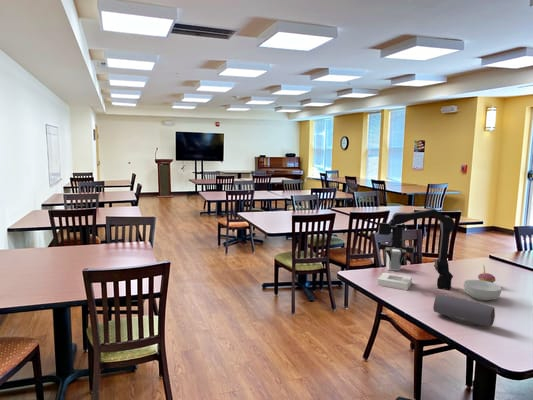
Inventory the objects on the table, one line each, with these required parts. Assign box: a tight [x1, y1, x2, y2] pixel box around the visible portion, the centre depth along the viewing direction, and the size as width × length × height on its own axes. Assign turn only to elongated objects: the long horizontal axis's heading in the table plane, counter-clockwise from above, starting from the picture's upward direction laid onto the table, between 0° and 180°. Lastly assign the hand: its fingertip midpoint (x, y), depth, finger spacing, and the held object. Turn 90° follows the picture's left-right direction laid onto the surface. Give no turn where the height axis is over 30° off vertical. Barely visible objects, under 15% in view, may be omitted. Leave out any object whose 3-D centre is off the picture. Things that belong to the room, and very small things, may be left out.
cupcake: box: [477, 264, 496, 283], centre depth 217 cm, size 9×8×12 cm
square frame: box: [377, 272, 413, 291], centre depth 219 cm, size 16×14×4 cm
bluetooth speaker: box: [432, 293, 496, 328], centre depth 169 cm, size 23×9×10 cm, turn 48°
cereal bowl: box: [463, 279, 503, 302], centre depth 198 cm, size 17×17×7 cm
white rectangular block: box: [385, 249, 402, 272], centre depth 247 cm, size 7×7×13 cm
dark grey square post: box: [391, 253, 402, 270], centre depth 217 cm, size 4×4×8 cm
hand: (396, 262), depth 217 cm, fingers closed on dark grey square post, 4 cm apart
